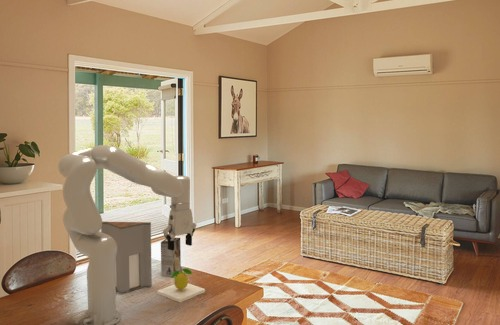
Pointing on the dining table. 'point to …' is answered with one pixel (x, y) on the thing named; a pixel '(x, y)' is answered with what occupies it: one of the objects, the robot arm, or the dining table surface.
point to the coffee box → (170, 258)
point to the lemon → (181, 278)
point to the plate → (180, 292)
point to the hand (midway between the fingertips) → (180, 247)
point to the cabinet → (131, 254)
